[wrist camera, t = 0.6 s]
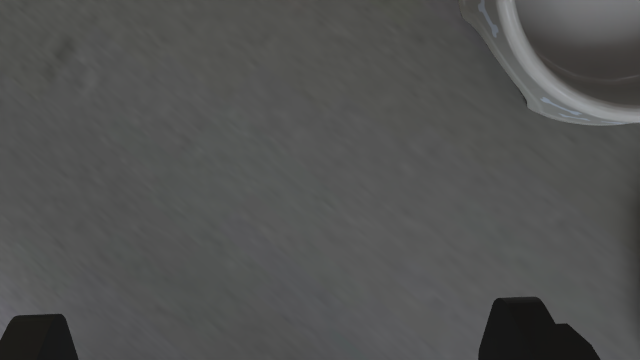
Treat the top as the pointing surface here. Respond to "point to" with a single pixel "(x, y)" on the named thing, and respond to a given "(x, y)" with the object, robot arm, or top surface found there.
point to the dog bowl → (567, 54)
